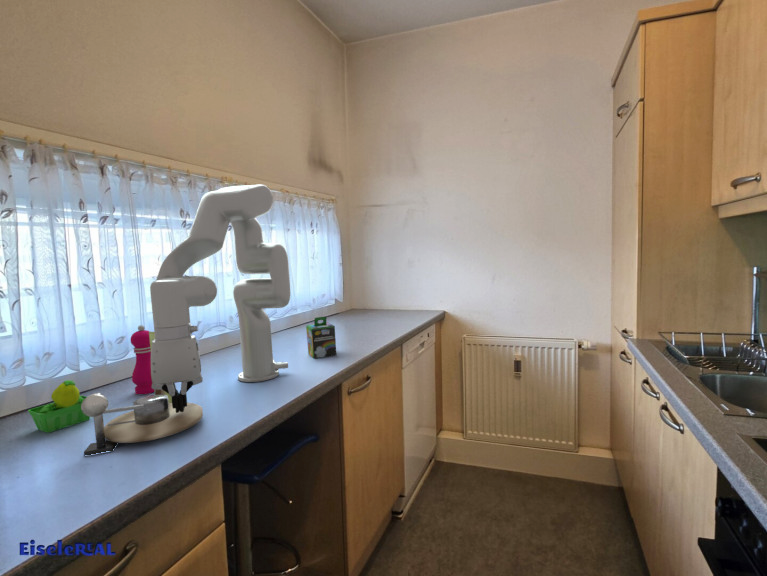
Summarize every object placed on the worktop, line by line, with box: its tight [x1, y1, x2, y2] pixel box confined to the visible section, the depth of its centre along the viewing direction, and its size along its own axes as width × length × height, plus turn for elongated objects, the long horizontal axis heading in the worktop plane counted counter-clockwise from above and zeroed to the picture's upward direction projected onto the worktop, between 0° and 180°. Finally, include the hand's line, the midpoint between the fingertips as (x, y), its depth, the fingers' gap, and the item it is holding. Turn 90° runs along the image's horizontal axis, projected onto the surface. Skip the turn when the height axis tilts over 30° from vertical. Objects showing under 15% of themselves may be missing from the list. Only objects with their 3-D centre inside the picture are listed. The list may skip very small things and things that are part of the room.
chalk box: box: [305, 316, 337, 360], centre depth 161 cm, size 9×9×15 cm
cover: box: [132, 394, 170, 425], centre depth 97 cm, size 7×7×5 cm
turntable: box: [104, 389, 204, 444], centre depth 97 cm, size 20×20×6 cm
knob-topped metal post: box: [81, 392, 144, 457], centre depth 88 cm, size 11×4×12 cm, turn 109°
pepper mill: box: [130, 324, 154, 395], centre depth 125 cm, size 7×7×20 cm
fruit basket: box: [27, 379, 91, 434], centre depth 102 cm, size 11×9×11 cm
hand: (180, 410), depth 99 cm, fingers closed
